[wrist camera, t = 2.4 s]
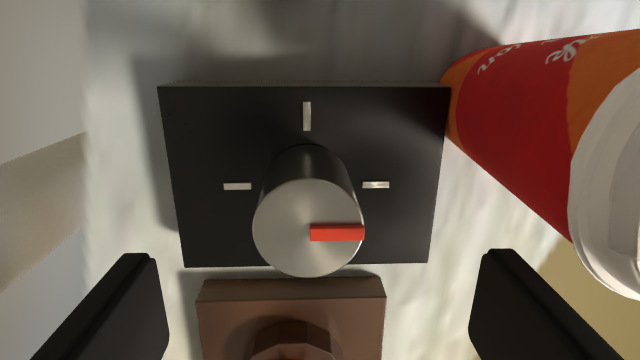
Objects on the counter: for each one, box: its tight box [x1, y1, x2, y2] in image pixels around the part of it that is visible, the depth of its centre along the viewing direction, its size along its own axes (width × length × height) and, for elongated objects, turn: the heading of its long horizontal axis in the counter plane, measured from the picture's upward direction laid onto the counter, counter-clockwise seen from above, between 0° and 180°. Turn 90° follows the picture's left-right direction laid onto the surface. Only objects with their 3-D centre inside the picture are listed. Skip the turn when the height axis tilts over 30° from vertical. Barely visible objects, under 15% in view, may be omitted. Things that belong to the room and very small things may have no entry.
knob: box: [252, 145, 365, 278], centre depth 16 cm, size 4×4×5 cm
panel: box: [157, 81, 451, 268], centre depth 20 cm, size 14×10×3 cm
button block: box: [195, 277, 387, 360], centre depth 24 cm, size 12×10×4 cm
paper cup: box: [439, 29, 640, 300], centre depth 14 cm, size 8×8×14 cm
